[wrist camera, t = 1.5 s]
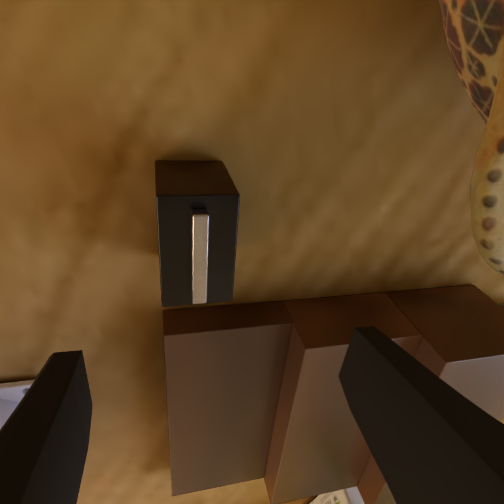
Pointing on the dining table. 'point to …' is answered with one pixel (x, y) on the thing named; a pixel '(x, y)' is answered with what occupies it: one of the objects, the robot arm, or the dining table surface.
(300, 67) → the dining table surface
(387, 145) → the dining table surface
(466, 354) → the step shelf
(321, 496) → the tea box
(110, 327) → the dining table surface
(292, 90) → the dining table surface
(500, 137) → the ceramic bowl
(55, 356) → the robot arm
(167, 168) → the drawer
